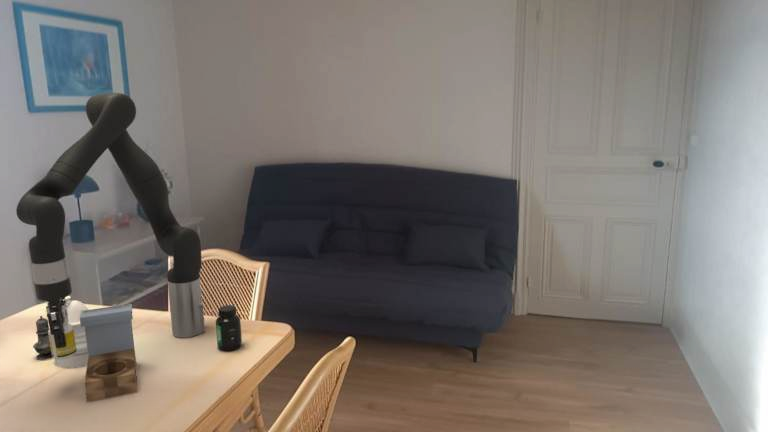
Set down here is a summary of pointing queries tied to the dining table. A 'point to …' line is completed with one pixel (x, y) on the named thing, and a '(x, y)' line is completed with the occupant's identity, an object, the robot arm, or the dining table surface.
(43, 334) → the dark grey chess piece
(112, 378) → the socket
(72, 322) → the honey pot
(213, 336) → the dining table surface
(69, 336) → the supplement bottle
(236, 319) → the supplement bottle
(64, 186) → the robot arm
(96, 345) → the wall
